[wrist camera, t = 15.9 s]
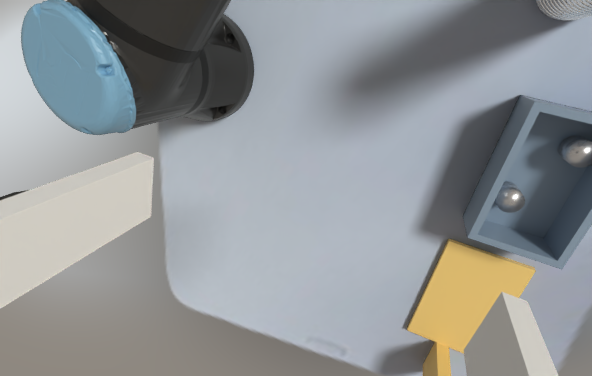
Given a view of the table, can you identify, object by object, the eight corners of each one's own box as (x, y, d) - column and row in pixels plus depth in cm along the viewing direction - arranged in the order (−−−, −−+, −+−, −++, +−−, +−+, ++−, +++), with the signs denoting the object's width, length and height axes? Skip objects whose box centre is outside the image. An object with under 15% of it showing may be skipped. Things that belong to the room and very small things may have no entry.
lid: (395, 352, 57) (390, 395, 49) (448, 238, 47) (452, 270, 40) (463, 382, 54) (468, 430, 47) (533, 267, 45) (554, 307, 38)
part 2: (575, 165, 38) (585, 172, 36) (551, 152, 39) (559, 159, 36) (595, 143, 37) (607, 149, 34) (570, 130, 37) (579, 135, 35)
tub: (462, 216, 45) (467, 237, 40) (520, 94, 39) (534, 101, 33) (545, 243, 43) (561, 269, 38) (621, 118, 36) (654, 129, 31)
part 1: (488, 198, 43) (492, 208, 40) (498, 178, 42) (503, 186, 39) (512, 205, 42) (518, 216, 39) (523, 185, 41) (529, 194, 38)
